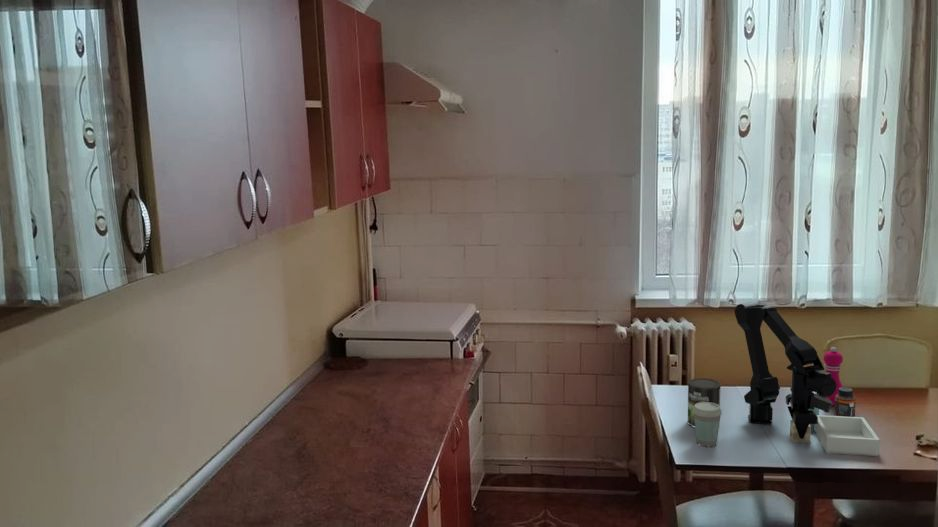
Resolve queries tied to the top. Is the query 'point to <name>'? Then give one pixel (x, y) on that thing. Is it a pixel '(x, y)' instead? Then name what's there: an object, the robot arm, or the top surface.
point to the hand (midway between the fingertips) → (800, 434)
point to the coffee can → (702, 394)
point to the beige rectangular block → (795, 435)
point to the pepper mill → (833, 369)
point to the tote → (847, 435)
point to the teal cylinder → (816, 414)
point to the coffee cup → (707, 423)
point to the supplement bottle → (845, 403)
